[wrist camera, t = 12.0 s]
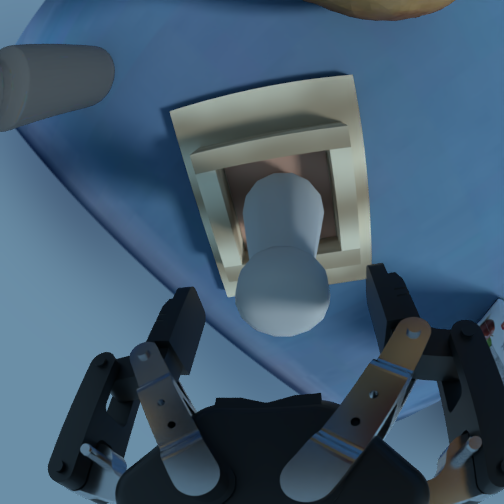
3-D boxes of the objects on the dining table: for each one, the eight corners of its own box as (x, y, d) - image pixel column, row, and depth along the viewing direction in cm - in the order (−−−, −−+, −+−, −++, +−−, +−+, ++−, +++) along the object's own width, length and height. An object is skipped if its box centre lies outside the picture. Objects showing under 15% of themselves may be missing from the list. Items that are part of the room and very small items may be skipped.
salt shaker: (267, 242, 26) (254, 367, 15) (233, 185, 23) (186, 287, 12) (331, 214, 24) (365, 332, 13) (300, 152, 22) (319, 231, 10)
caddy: (173, 110, 22) (157, 114, 19) (349, 75, 19) (360, 73, 16) (229, 290, 30) (223, 314, 28) (369, 272, 28) (377, 294, 25)
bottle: (87, 35, 18) (-51, 37, 5) (127, 67, 20) (-17, 79, 7) (56, 86, 21) (-75, 123, 8) (91, 119, 22) (-42, 174, 10)
